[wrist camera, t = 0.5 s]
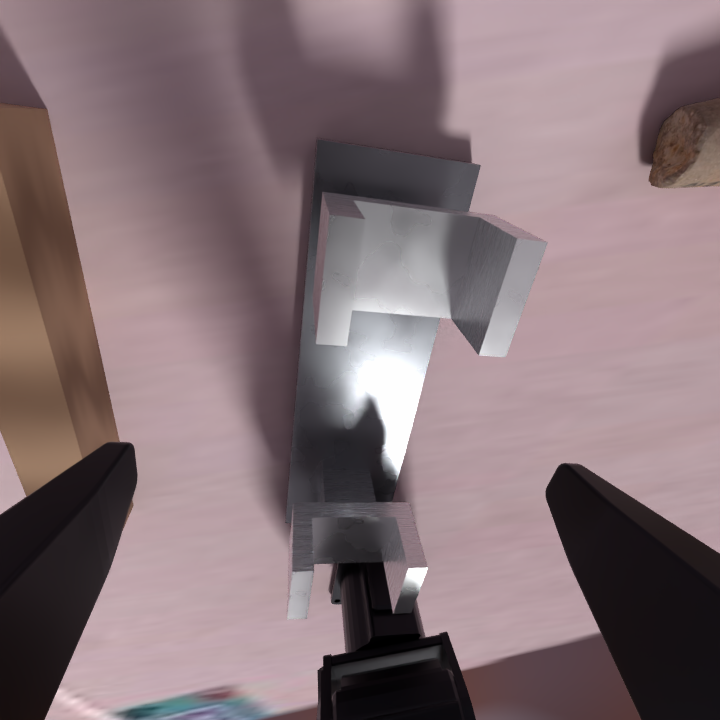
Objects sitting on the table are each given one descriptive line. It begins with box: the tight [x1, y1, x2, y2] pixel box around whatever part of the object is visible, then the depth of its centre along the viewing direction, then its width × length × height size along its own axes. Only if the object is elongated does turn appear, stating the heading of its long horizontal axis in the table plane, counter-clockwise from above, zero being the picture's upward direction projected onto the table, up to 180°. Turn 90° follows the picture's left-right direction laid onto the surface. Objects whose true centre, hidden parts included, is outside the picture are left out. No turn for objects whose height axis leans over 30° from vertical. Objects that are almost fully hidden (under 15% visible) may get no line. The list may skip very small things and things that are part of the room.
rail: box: [0, 103, 133, 531], centre depth 19 cm, size 22×3×4 cm, turn 173°
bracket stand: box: [286, 138, 548, 619], centre depth 20 cm, size 23×7×8 cm, turn 172°
